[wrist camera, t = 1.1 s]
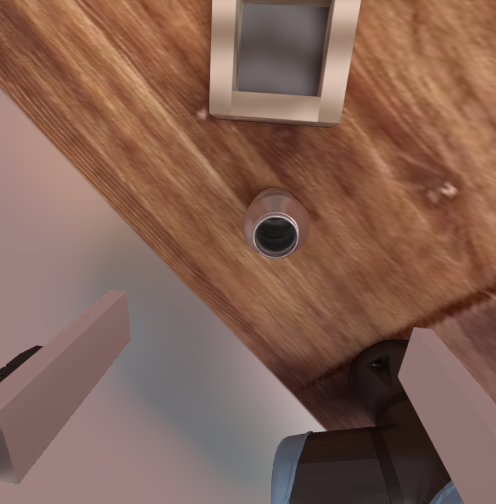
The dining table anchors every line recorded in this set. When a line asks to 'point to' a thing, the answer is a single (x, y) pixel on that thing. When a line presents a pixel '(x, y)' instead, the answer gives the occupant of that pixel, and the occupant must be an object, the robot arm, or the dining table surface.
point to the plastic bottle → (275, 223)
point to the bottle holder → (281, 60)
